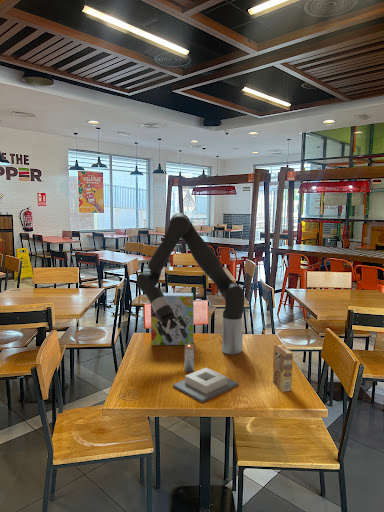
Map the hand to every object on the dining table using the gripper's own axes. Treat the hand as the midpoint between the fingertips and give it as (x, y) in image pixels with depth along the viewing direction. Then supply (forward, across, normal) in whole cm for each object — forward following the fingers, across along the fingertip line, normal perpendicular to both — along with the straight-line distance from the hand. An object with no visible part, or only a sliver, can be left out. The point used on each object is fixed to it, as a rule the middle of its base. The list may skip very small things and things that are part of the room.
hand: (178, 339), depth 162 cm
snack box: (-8, +16, +25) cm, 30 cm away
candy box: (+38, +17, -21) cm, 47 cm away
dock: (+24, -5, -7) cm, 25 cm away
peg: (+13, 0, +3) cm, 14 cm away
